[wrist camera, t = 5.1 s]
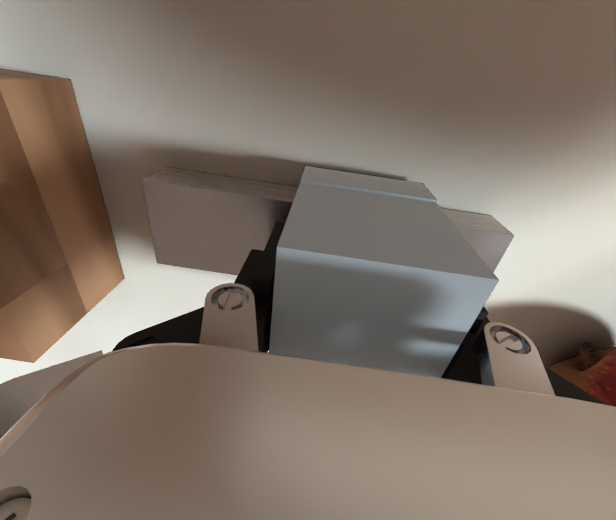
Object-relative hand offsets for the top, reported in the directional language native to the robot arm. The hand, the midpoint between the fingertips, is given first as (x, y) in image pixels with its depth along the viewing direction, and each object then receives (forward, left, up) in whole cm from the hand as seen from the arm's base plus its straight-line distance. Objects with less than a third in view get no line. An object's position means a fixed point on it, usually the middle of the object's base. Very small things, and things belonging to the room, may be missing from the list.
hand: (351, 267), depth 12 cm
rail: (+1, 0, -3) cm, 3 cm away
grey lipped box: (0, 0, -3) cm, 3 cm away
